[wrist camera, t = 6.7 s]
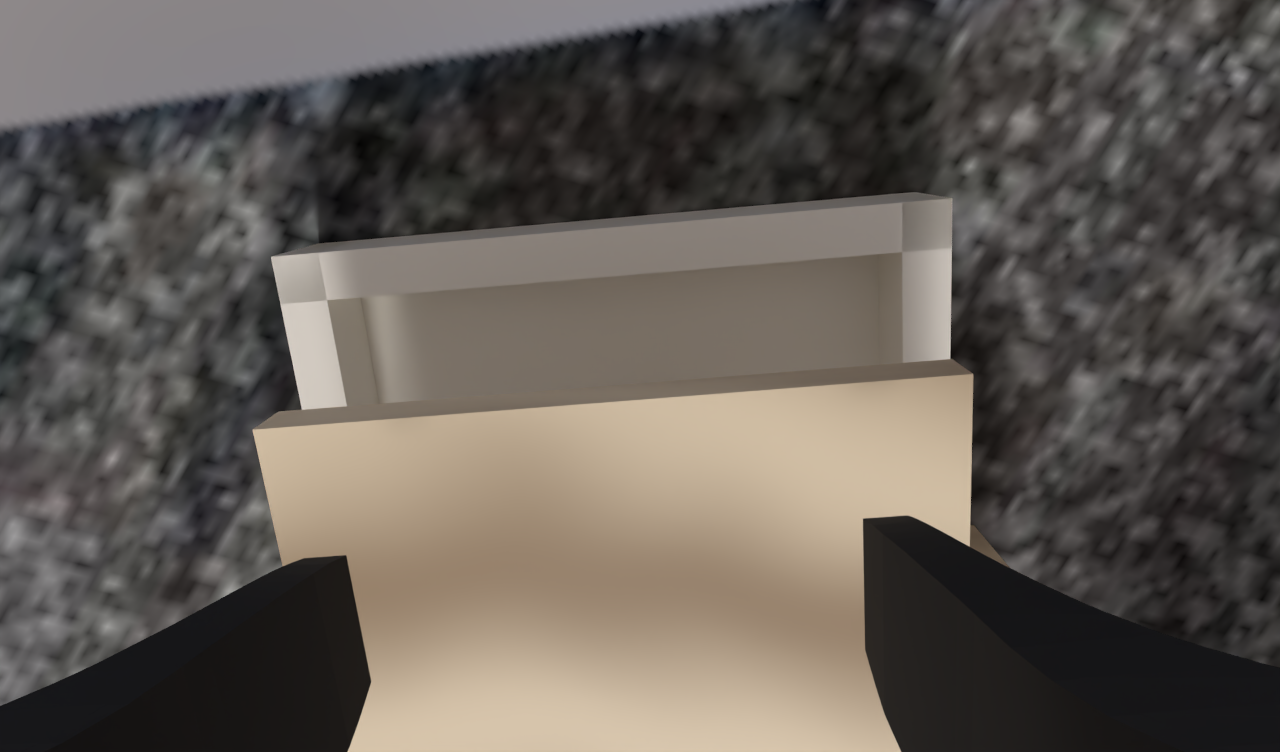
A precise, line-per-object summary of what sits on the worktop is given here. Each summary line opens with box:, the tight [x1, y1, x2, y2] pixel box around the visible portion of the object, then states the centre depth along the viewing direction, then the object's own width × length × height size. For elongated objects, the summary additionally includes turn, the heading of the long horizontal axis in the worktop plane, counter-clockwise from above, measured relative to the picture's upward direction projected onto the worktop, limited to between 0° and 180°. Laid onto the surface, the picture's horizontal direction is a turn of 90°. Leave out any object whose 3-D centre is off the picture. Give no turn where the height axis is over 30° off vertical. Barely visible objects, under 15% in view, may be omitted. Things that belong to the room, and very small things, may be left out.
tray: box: [271, 192, 952, 410], centre depth 19 cm, size 14×8×2 cm, turn 95°
